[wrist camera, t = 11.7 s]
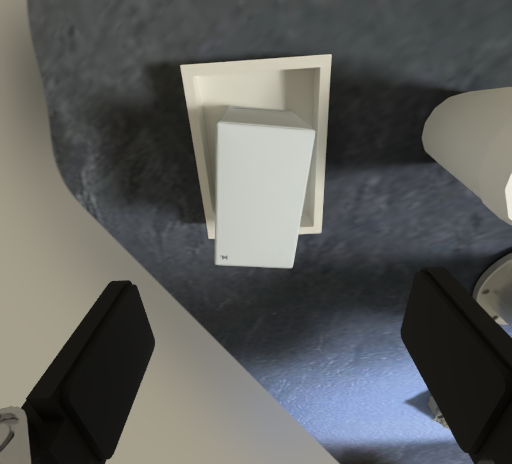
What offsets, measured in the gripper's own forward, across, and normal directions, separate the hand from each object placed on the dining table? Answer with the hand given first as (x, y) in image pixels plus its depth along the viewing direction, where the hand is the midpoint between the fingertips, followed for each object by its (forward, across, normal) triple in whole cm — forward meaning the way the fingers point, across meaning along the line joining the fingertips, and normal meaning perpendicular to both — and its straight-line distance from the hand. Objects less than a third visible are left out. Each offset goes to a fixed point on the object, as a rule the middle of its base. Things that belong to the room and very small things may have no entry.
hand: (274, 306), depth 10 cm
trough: (+22, 0, 0) cm, 22 cm away
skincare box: (+21, +1, +1) cm, 21 cm away
